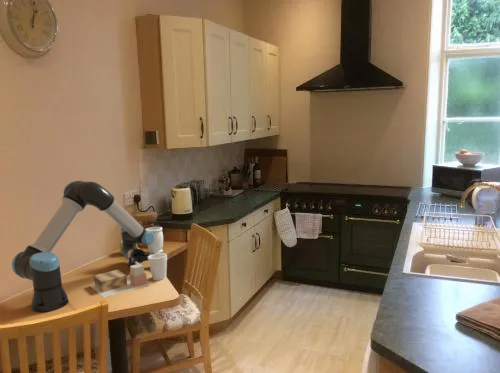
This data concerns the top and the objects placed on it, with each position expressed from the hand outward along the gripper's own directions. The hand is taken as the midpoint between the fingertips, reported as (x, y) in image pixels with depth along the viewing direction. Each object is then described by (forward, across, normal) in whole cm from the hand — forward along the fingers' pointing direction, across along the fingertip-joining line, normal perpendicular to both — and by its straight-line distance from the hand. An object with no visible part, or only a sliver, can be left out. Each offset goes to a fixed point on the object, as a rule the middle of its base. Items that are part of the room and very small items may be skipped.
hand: (153, 264), depth 225 cm
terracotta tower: (+7, +11, -5) cm, 15 cm away
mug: (-53, -8, -7) cm, 54 cm away
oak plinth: (-1, +22, -5) cm, 23 cm away
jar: (-41, -20, -7) cm, 46 cm away
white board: (+2, +18, -7) cm, 20 cm away
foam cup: (+7, 0, -7) cm, 10 cm away
